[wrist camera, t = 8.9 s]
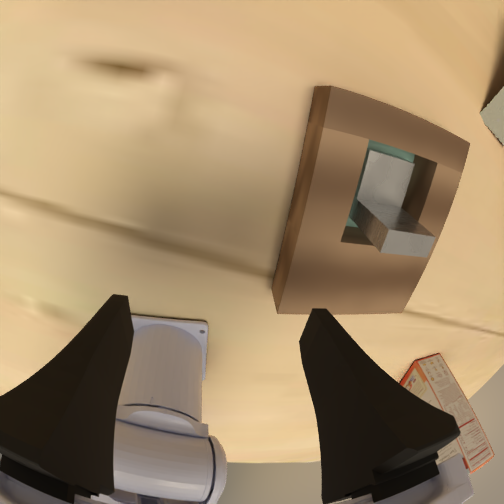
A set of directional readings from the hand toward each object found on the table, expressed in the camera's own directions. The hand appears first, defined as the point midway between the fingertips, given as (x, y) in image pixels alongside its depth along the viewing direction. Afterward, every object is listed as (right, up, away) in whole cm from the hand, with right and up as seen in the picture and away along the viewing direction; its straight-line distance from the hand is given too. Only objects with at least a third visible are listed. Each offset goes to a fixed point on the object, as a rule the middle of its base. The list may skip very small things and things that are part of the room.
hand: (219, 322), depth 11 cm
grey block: (+10, +8, +8) cm, 15 cm away
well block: (+10, +6, +10) cm, 15 cm away
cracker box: (+28, -19, +27) cm, 43 cm away
